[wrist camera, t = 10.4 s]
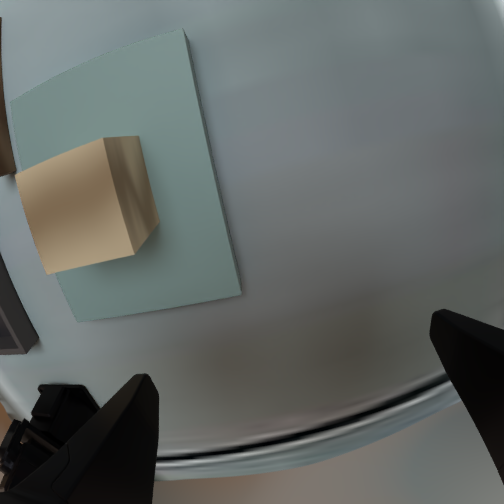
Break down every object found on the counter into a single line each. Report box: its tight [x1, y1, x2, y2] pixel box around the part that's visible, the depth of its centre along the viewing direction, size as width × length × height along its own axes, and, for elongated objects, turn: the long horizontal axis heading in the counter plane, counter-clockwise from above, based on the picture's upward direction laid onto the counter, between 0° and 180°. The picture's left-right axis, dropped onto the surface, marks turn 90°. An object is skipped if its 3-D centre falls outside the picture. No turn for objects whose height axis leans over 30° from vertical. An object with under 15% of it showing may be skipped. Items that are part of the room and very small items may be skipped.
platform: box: [10, 29, 242, 322], centre depth 17 cm, size 16×12×2 cm
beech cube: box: [15, 136, 160, 274], centre depth 14 cm, size 5×5×5 cm
